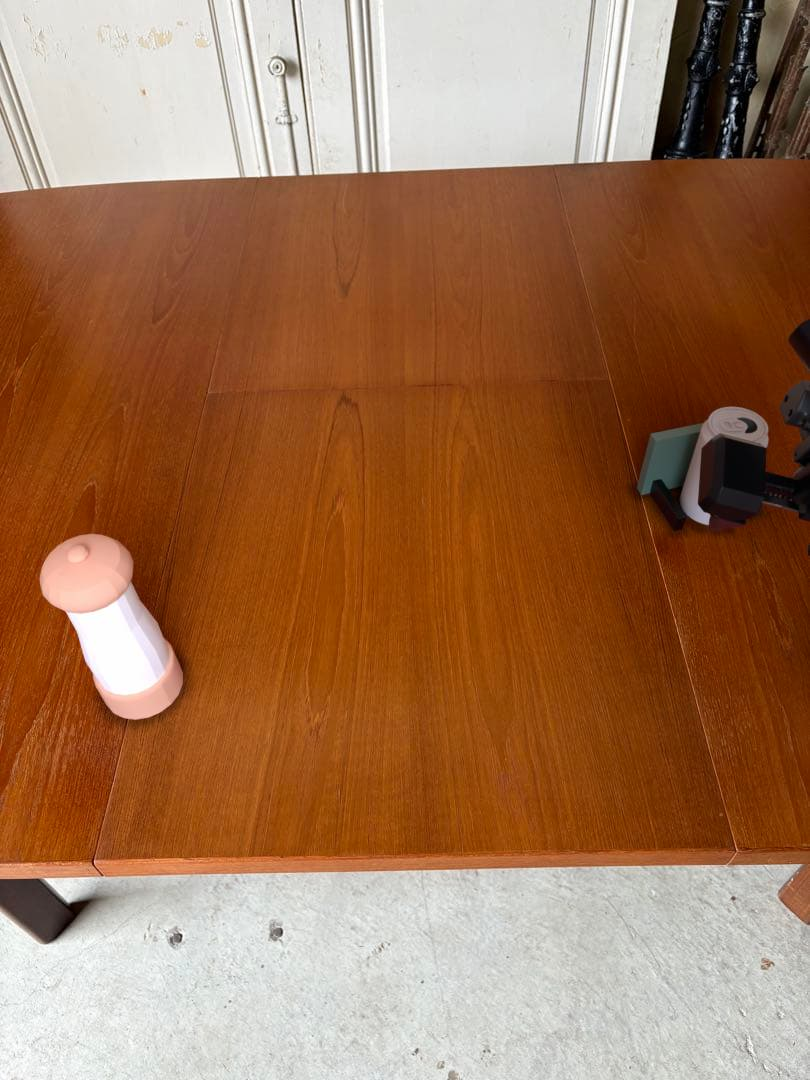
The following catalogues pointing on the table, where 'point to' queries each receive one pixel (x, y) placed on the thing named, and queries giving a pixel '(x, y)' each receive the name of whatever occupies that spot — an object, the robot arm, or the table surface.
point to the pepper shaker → (112, 625)
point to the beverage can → (720, 421)
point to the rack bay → (668, 469)
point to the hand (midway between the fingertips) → (760, 538)
